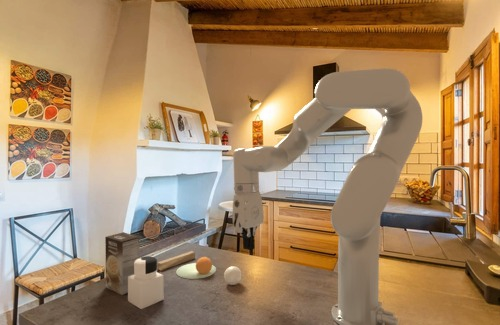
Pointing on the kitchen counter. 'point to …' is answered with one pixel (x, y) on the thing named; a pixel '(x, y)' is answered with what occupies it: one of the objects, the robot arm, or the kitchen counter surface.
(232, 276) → the cue ball
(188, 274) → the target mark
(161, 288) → the medicine bottle
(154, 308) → the kitchen counter surface
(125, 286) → the coffee box
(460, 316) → the kitchen counter surface
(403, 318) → the kitchen counter surface
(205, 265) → the object ball
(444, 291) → the kitchen counter surface
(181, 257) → the rail
